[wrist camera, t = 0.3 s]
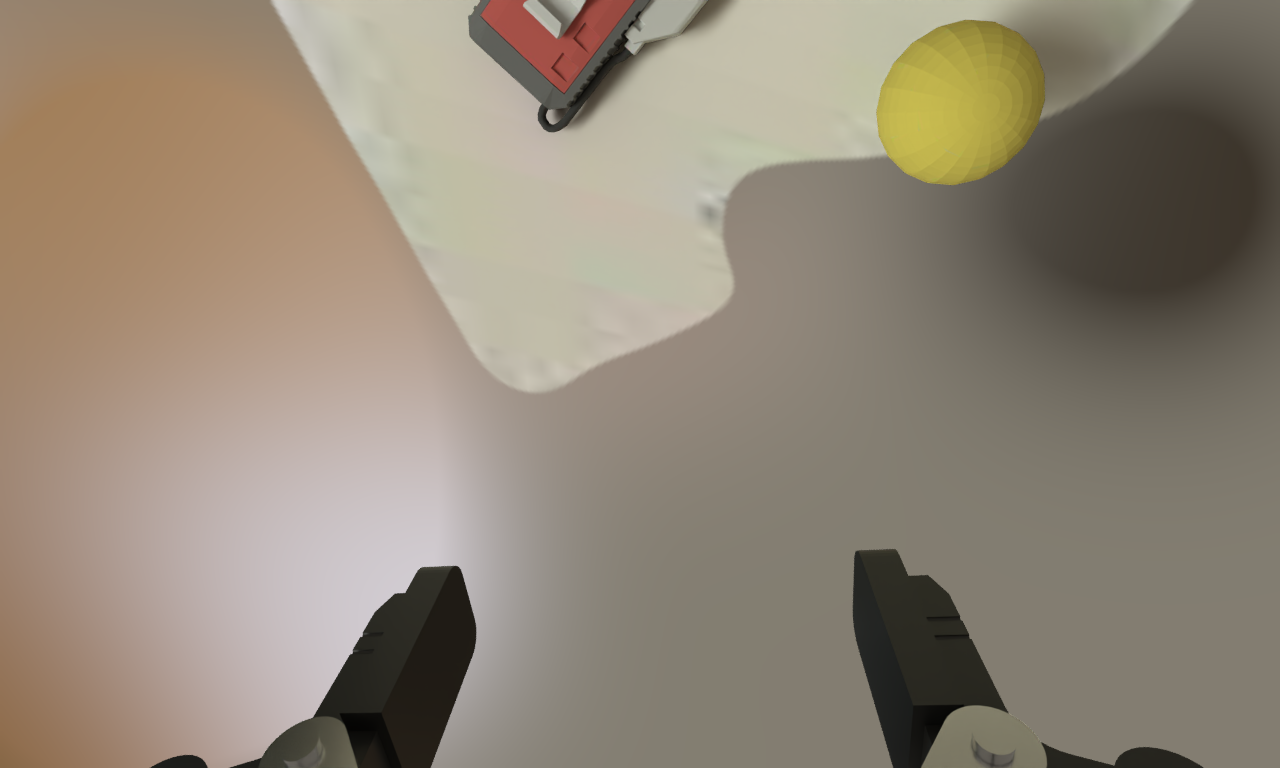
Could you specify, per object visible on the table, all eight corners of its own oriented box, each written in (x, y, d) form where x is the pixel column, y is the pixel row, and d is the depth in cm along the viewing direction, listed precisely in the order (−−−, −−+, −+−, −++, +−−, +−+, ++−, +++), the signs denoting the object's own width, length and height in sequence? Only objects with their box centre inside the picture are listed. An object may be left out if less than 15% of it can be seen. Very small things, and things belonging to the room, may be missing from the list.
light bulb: (845, 173, 37) (893, 201, 28) (850, 39, 35) (904, 20, 26) (972, 163, 37) (1063, 188, 27) (986, 25, 34) (1091, 1, 25)
